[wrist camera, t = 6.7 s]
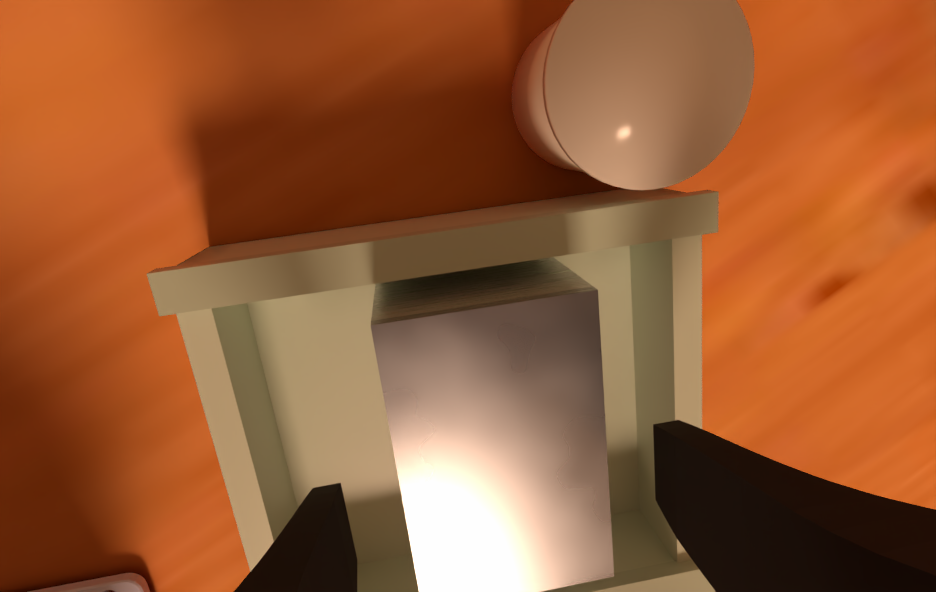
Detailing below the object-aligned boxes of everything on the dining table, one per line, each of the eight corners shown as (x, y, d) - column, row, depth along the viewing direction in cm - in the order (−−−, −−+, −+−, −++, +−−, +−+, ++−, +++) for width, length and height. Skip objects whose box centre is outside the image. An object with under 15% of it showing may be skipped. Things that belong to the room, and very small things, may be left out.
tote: (291, 589, 19) (269, 687, 16) (200, 244, 16) (146, 273, 12) (660, 516, 20) (715, 592, 17) (652, 181, 17) (718, 191, 13)
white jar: (513, 187, 16) (555, 203, 12) (496, 17, 15) (536, -31, 11) (660, 166, 17) (751, 175, 13) (656, -1, 16) (757, -54, 11)
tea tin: (415, 490, 18) (423, 615, 13) (377, 270, 16) (370, 325, 11) (557, 464, 19) (614, 576, 14) (538, 246, 16) (597, 289, 12)
